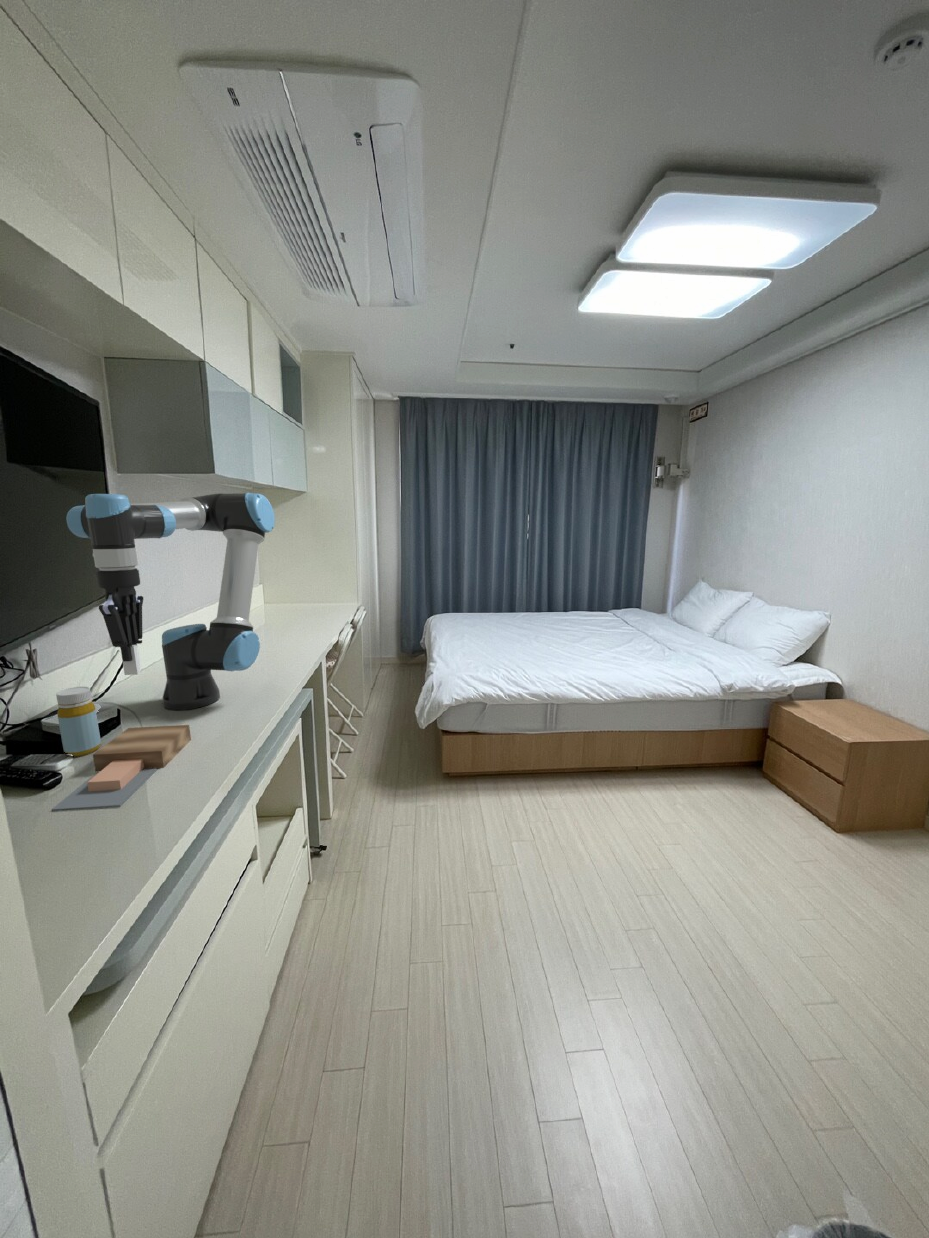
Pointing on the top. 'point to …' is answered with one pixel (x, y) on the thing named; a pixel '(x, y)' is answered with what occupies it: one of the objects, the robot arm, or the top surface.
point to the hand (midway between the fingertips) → (132, 673)
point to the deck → (144, 746)
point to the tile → (115, 775)
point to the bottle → (78, 721)
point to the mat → (103, 794)
